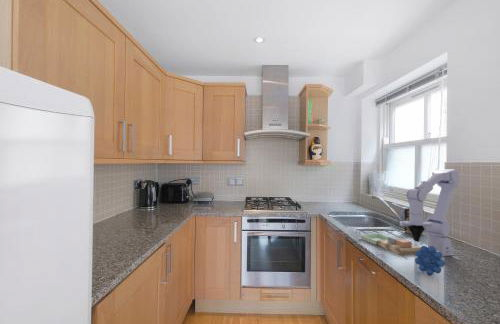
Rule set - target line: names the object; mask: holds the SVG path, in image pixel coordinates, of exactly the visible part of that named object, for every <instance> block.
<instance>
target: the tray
mask: <svg viewBox="0 0 500 324" xmlns="http://www.w3.org/2000/svg"><path fill="white" fill-rule="evenodd" d="M359 237H360V238H361V239H360V240H362V239H363V240H362V241H364V240H365V242H367V241H368V242H367V243H369V242H370V243H369V244H371V243H372V245H374V246H378V240H385V239H388V237H389V236H388V235H384V234H382V233H366V234H360V236H359Z"/></svg>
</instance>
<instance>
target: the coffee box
mask: <svg viewBox="0 0 500 324" xmlns="http://www.w3.org/2000/svg"><path fill="white" fill-rule="evenodd" d="M424 211H425V210H424V209H423V215H424V214H425V213H424ZM404 221H409V207H407V208H404ZM404 233H407V234H410V235H412V232H411V230H410V228H409V226H404ZM421 236H424V231H423V232H422V234H421Z"/></svg>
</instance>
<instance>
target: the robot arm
mask: <svg viewBox="0 0 500 324" xmlns="http://www.w3.org/2000/svg"><path fill="white" fill-rule="evenodd" d="M431 174H432V175H430V177H429V178H428V179H427V180H421V182H420V183H419V184H417V185H416V186H415V187H413V188H410V189H408V190H407V192H406V195H405V196H406V199H407V202H408V204H409V207H408V208H409V221H405V220H404V221H403V220H402V221H401V220H400V221H399V226H400V227H405V226H409V228H410V230H411V232H412V234H411V235H412V237H413V238H412V239H413V241H415V242H420V238H421V236H422V235H421V234H422V232H423V233H424V232H425V234H427V247H429V246H433V247H435V248H436V251H439V252H441V253H442V255H443V256H442V257H447V256H448V257H449V256H453V255H454V254H453V253H452V251H453V248H452V240H451V239H450V238H448V237H447V236H448V235H449V234H450V232H451V230H450V229H451V228H450V226H451V223H450V222H449V221H448V220H447V219H446V217H447V214H448V210H449V209H450V204H451V201H452V197H453V194H454V191H455V188H456V187H457V186H458V183H459V180H460V174H459V171H458V170H457V169H455V168H454V169H438V168H437V169H434V170H433V171H432V173H431ZM435 185H437V186H438V187H440V192H439V194H438V198H437V202H436V205H435V207H434V211H433V214H431V215H429V216H428V217H427V218H426V220H424V214H423V210H424V202H425V200H426V199H427V196H428V194H429V193H430V192H432V191H433V190H434V186H435Z"/></svg>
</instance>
